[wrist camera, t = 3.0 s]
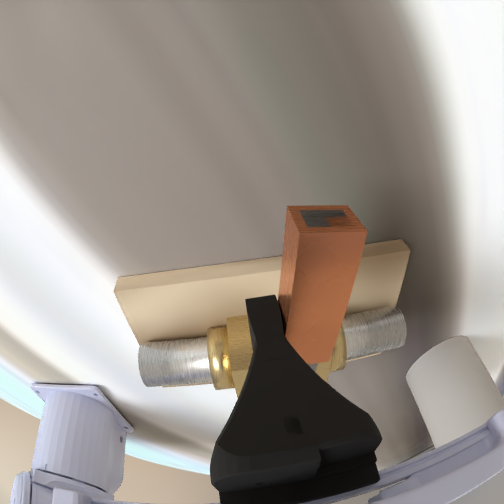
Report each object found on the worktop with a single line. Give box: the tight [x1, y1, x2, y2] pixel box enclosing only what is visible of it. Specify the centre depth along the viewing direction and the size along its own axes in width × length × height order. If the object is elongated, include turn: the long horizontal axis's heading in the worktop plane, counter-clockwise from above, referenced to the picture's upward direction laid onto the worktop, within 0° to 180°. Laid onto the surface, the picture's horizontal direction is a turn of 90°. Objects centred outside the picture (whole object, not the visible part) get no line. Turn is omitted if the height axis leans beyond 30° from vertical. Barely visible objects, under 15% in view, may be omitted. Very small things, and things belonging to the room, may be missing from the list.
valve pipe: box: [138, 305, 407, 397], centre depth 18 cm, size 4×16×4 cm, turn 95°
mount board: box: [114, 239, 411, 387], centre depth 20 cm, size 10×17×1 cm, turn 95°
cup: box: [406, 336, 504, 448], centre depth 24 cm, size 8×8×12 cm
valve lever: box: [278, 206, 367, 372], centre depth 13 cm, size 12×2×2 cm, turn 178°
